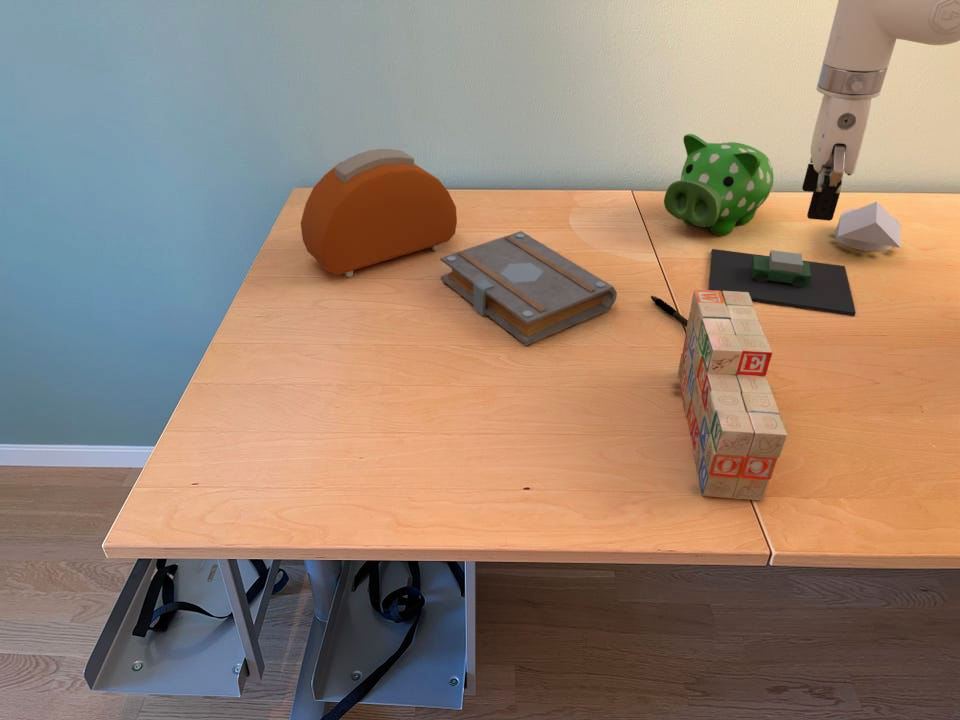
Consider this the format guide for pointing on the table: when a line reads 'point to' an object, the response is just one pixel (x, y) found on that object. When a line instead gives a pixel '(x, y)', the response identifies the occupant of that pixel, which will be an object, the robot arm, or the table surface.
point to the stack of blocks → (729, 396)
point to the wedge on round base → (869, 229)
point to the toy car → (781, 268)
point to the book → (527, 286)
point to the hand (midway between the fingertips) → (816, 204)
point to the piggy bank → (719, 185)
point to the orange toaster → (375, 212)
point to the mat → (783, 284)
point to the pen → (669, 310)
